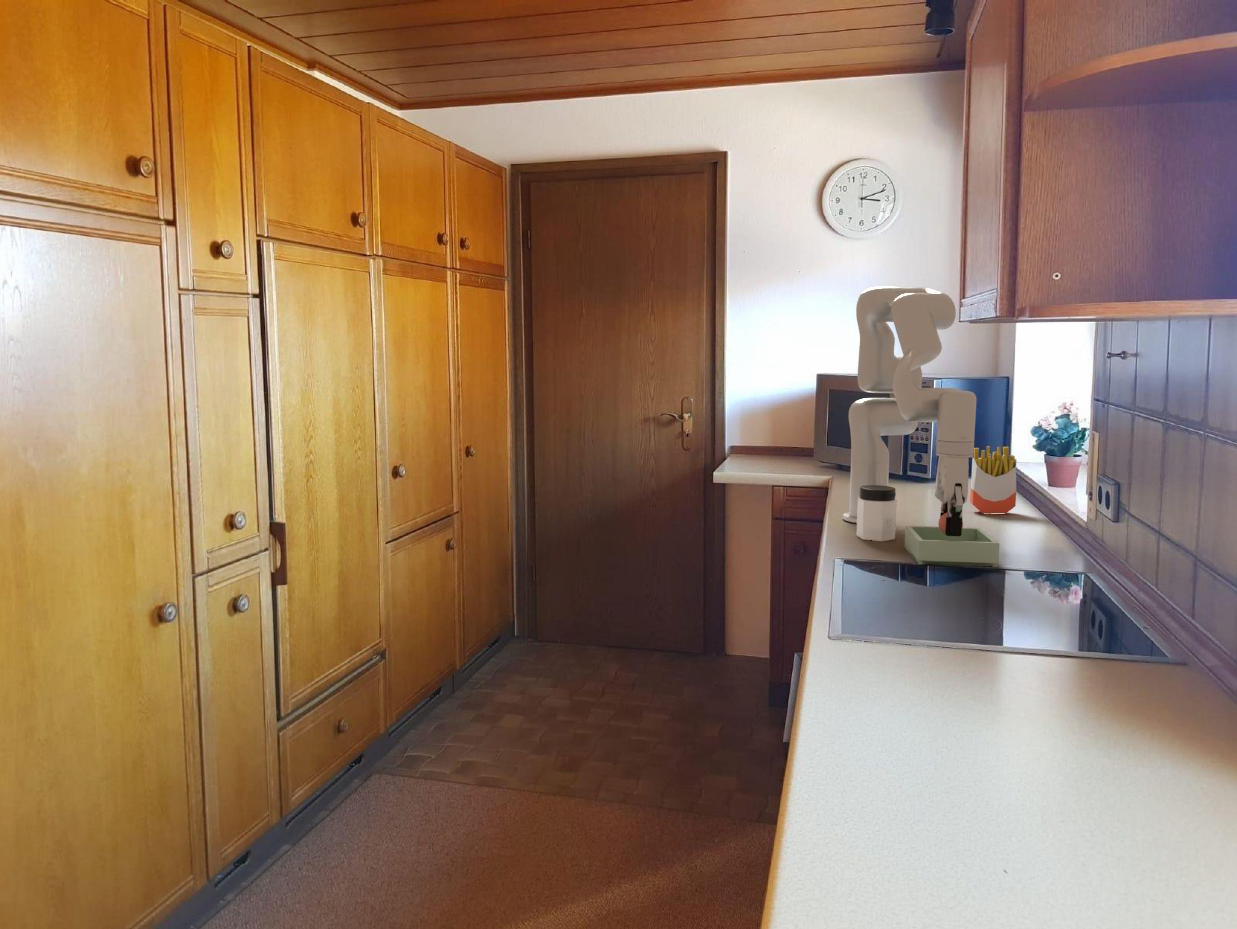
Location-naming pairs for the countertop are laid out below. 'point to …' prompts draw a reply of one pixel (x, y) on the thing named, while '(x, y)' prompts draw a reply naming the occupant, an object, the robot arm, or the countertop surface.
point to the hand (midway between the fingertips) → (950, 532)
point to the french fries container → (993, 481)
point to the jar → (876, 513)
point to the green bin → (951, 547)
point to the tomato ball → (944, 522)
